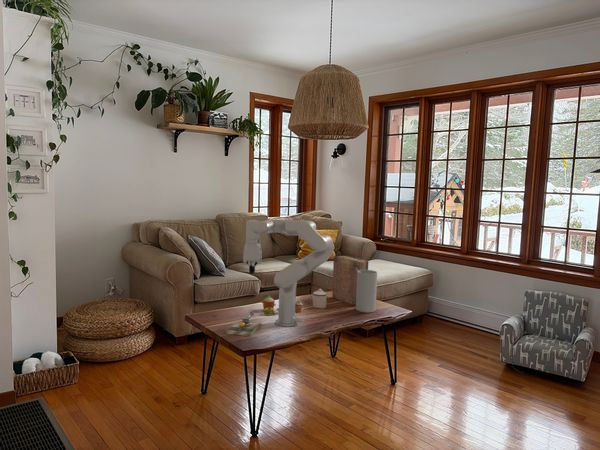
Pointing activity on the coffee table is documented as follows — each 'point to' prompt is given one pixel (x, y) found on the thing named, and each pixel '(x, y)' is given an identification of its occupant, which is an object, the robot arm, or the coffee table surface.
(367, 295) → the cylinder vase
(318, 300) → the teacup with lid
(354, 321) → the coffee table surface
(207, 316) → the coffee table surface
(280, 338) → the coffee table surface
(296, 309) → the toy tea set
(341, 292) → the book
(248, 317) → the ball-knob lever handle
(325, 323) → the coffee table surface
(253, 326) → the stand
